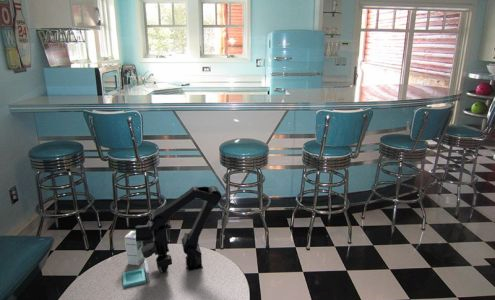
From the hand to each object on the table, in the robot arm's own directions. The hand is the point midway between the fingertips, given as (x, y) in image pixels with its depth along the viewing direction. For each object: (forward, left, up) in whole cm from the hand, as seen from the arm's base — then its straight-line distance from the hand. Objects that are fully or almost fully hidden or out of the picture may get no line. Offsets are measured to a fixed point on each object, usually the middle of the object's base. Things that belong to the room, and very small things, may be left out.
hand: (163, 268), depth 155 cm
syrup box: (+11, -12, -1) cm, 16 cm away
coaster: (+13, +1, -1) cm, 13 cm away
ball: (0, 0, -1) cm, 1 cm away
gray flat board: (+7, 0, -1) cm, 7 cm away
